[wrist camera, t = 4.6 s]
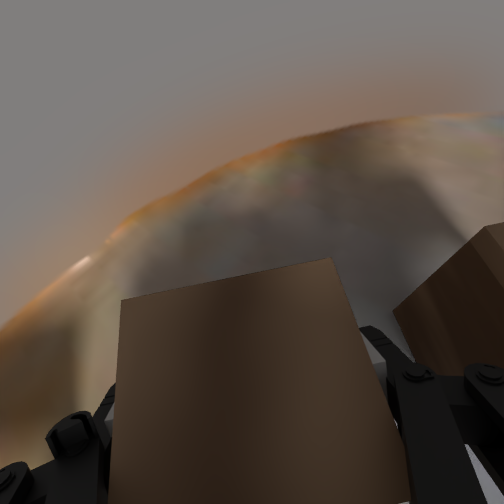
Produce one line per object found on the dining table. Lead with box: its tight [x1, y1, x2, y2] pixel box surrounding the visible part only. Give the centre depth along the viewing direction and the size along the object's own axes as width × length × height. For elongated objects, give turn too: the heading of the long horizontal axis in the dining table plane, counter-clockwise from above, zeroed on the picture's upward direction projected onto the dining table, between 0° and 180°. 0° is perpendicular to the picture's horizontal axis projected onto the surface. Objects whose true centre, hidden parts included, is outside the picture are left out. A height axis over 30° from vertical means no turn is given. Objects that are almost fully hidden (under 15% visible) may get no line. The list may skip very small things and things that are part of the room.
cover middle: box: [108, 257, 411, 504], centre depth 13 cm, size 8×7×10 cm
